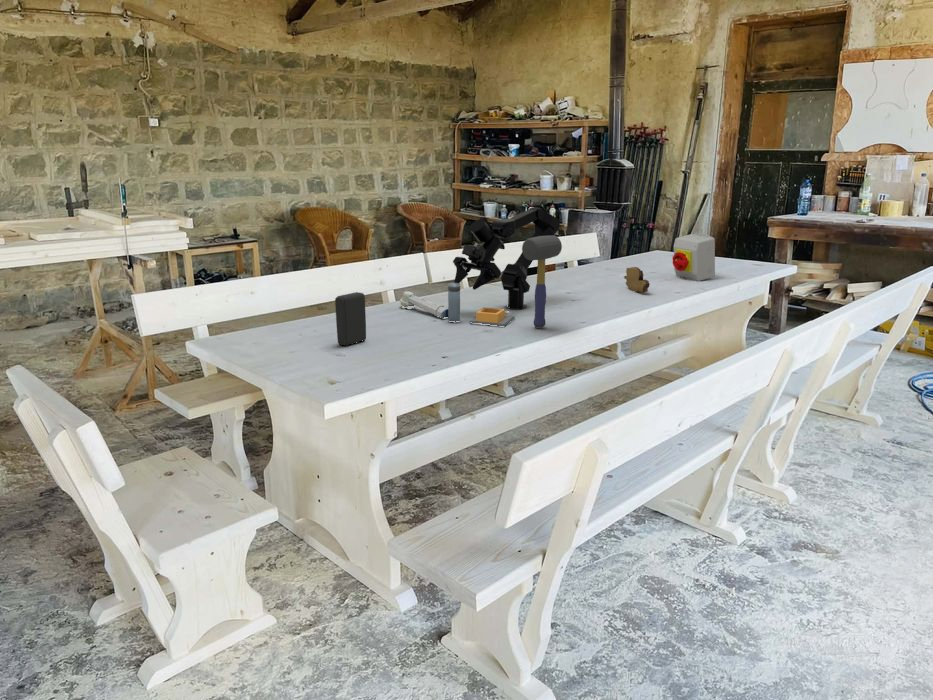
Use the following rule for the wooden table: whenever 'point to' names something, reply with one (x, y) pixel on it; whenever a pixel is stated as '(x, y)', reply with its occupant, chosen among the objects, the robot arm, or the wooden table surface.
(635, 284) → the wooden carving
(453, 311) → the plug
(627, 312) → the wooden table surface
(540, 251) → the rubber mallet
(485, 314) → the panel
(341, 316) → the black upright block
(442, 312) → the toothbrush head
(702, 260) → the electrical switch box
